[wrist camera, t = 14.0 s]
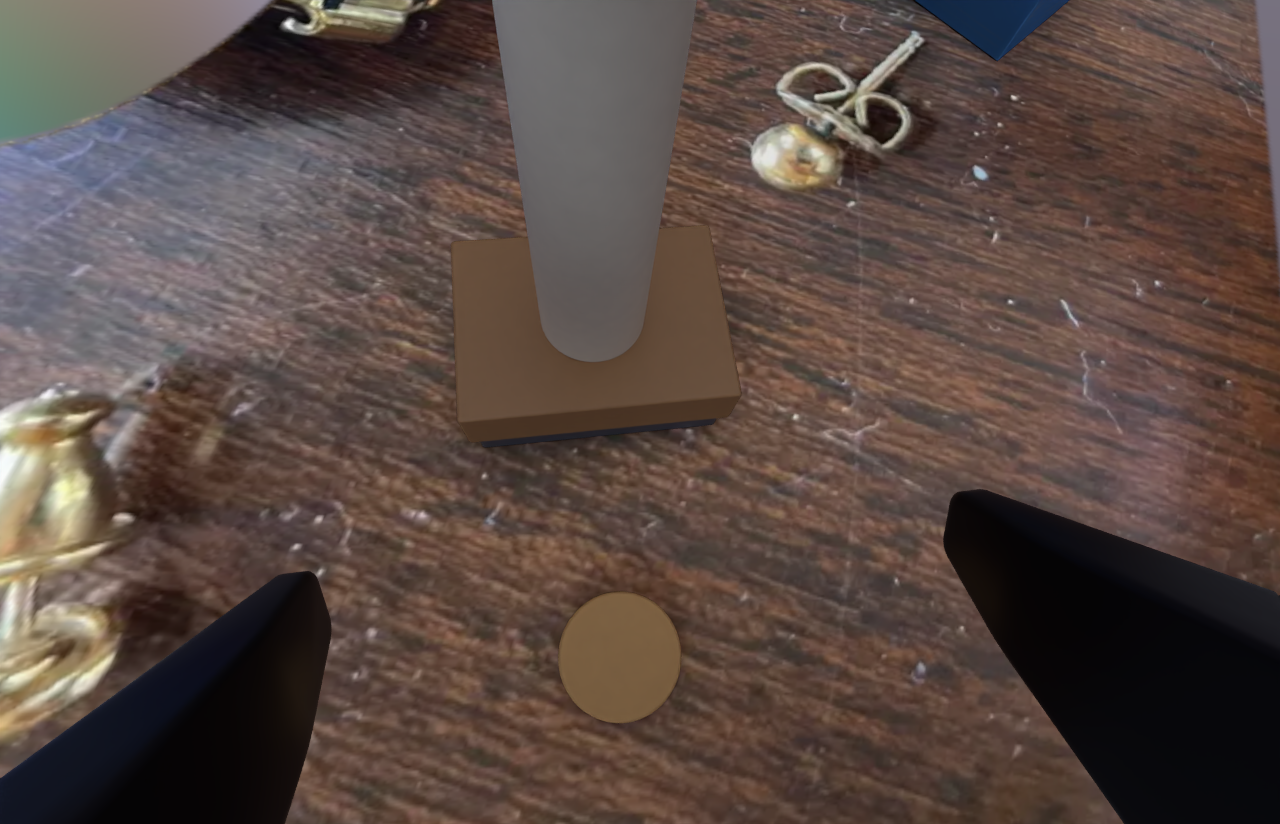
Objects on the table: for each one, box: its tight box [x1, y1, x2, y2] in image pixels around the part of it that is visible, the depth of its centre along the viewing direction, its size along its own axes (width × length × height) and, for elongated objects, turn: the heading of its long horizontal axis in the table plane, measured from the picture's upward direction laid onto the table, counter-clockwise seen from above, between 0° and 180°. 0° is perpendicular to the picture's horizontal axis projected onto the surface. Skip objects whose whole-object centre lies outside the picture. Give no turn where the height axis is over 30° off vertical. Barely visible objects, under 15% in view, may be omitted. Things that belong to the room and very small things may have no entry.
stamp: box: [451, 0, 742, 447], centre depth 12 cm, size 5×7×18 cm
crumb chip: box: [558, 591, 681, 723], centre depth 17 cm, size 3×3×1 cm
